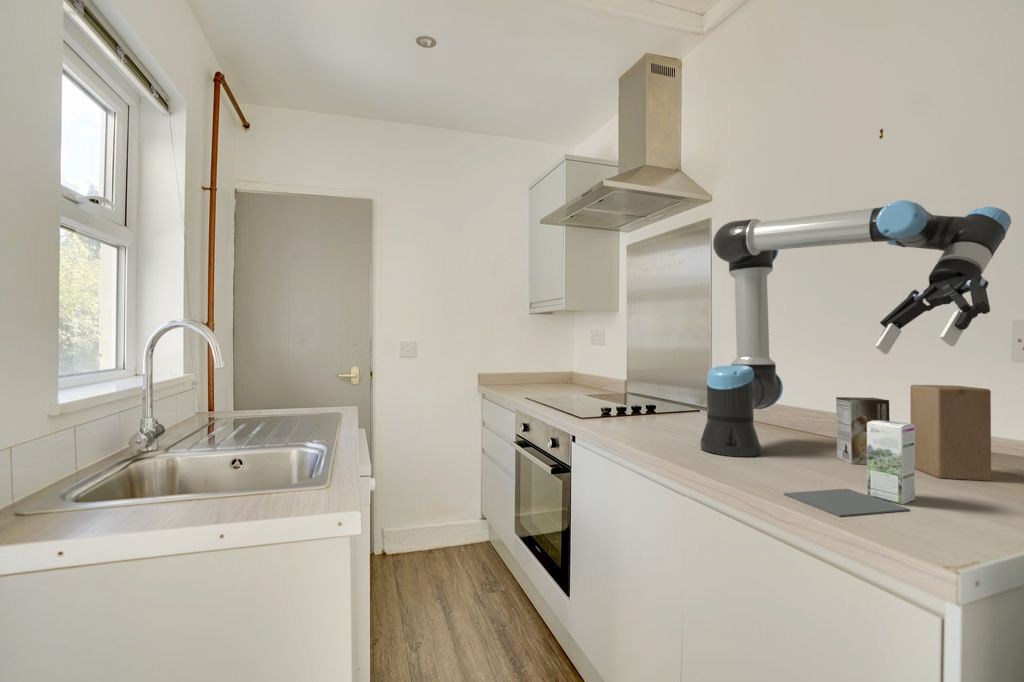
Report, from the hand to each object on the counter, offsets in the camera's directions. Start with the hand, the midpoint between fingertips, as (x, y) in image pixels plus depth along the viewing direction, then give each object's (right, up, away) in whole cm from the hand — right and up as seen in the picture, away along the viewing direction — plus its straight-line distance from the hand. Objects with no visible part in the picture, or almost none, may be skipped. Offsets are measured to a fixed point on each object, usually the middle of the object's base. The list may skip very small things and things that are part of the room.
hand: (911, 346), depth 94 cm
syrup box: (-9, -29, -5) cm, 31 cm away
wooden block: (+19, -30, +13) cm, 37 cm away
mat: (-19, -29, -8) cm, 36 cm away
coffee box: (+8, -30, +23) cm, 39 cm away
